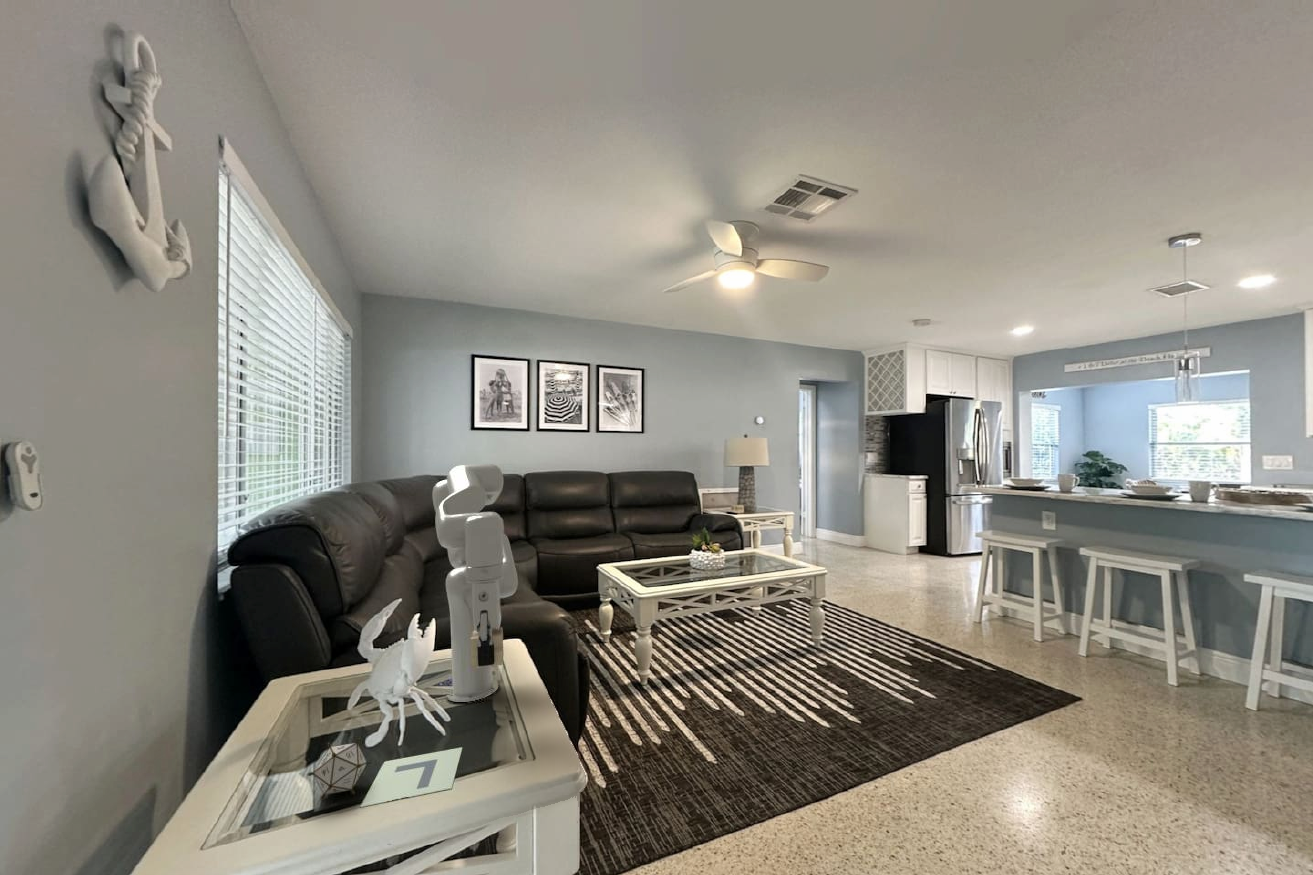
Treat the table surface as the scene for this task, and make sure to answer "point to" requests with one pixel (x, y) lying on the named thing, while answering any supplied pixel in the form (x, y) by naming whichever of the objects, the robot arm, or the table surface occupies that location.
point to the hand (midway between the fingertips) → (487, 658)
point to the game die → (340, 768)
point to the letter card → (414, 776)
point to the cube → (497, 648)
